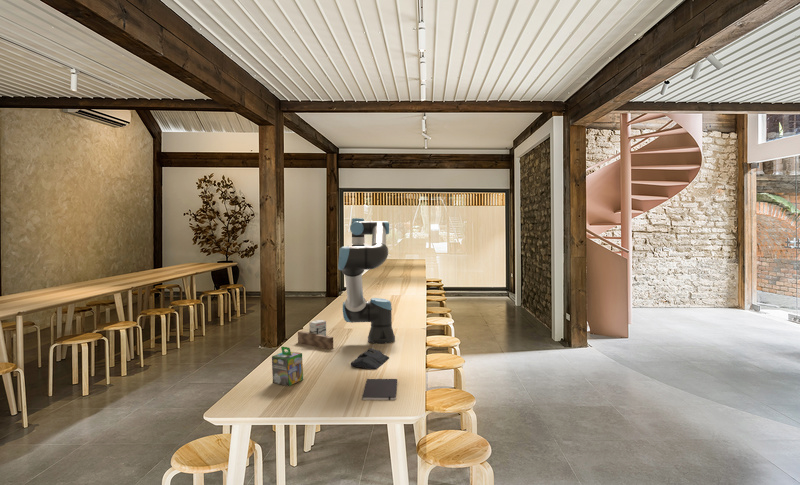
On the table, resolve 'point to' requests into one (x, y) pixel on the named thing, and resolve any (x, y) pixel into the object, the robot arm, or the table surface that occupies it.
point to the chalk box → (287, 367)
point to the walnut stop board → (315, 340)
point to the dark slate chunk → (370, 359)
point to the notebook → (380, 389)
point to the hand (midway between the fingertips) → (358, 284)
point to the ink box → (317, 327)
